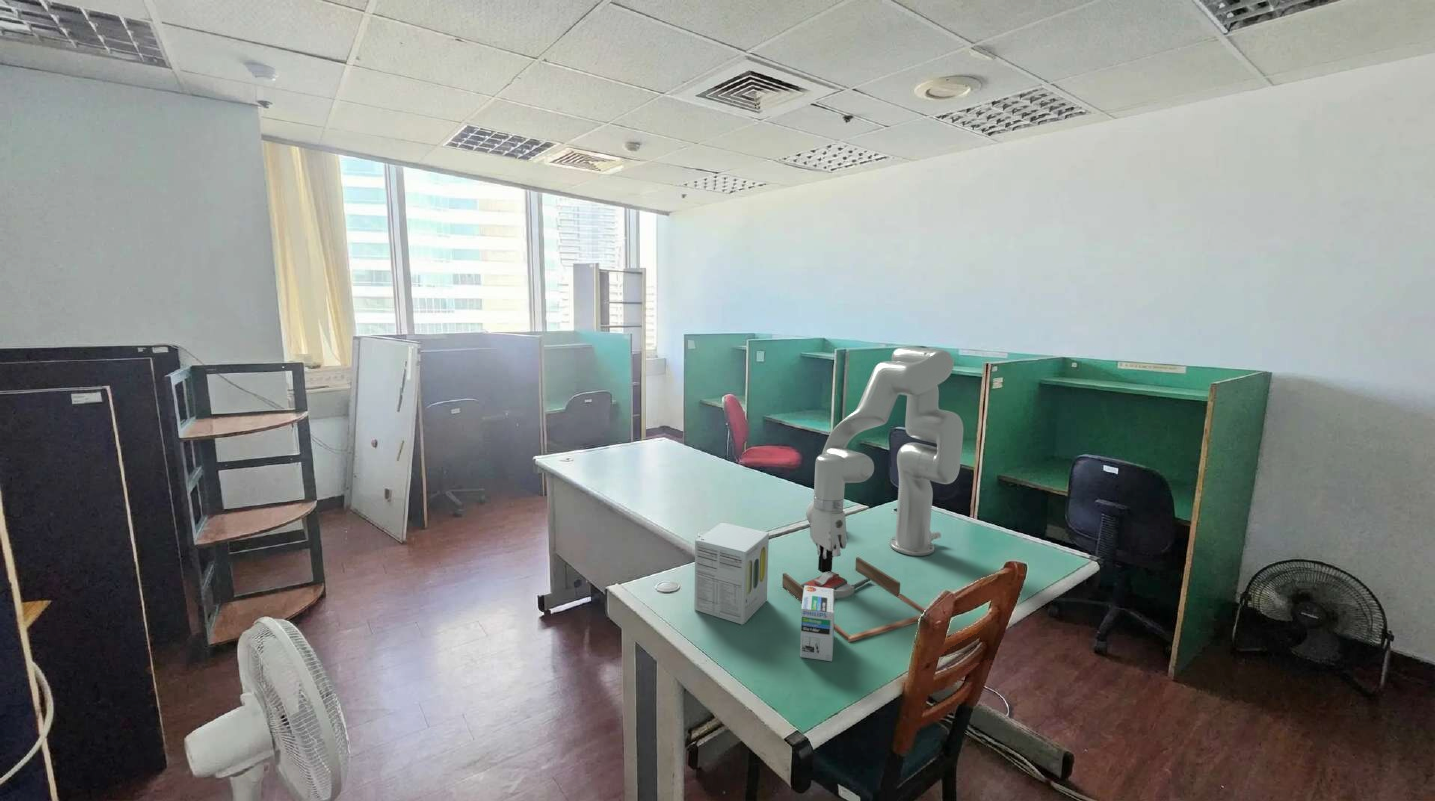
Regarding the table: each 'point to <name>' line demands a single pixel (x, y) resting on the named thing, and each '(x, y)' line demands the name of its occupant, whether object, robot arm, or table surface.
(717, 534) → the supplement box
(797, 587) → the brown wooden frame
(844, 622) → the table surface
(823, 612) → the light bulb box
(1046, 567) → the table surface
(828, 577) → the walkie-talkie
